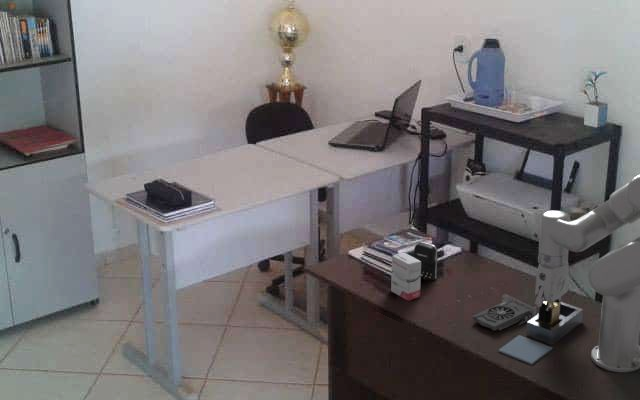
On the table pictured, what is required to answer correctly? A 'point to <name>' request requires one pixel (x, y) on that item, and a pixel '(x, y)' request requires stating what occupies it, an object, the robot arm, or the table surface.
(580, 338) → the table surface
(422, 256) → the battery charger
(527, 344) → the mat
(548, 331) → the cinder block
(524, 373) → the table surface
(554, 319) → the brass peg
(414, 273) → the ink box
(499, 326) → the graphics card
